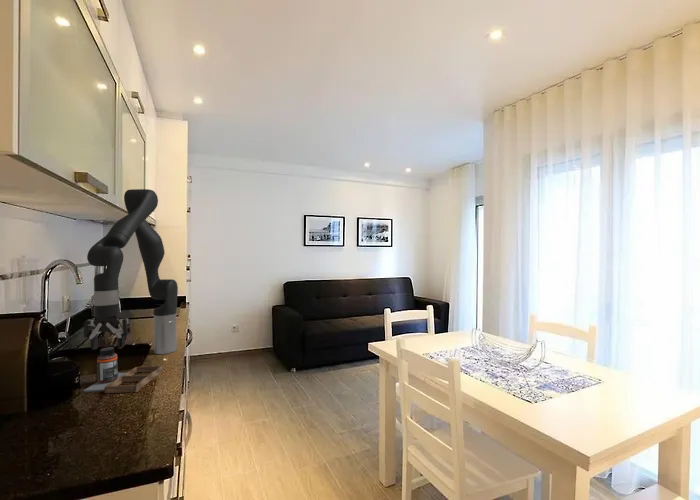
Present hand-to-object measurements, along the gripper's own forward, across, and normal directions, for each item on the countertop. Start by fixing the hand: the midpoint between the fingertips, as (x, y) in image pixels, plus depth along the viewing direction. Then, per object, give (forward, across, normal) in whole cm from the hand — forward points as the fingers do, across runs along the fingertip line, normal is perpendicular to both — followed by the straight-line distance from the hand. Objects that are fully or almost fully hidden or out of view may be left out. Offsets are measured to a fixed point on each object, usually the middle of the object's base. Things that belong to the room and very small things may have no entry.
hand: (107, 348), depth 123 cm
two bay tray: (+12, -10, 0) cm, 15 cm away
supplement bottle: (+12, 0, 0) cm, 12 cm away
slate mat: (+12, 0, 0) cm, 12 cm away
